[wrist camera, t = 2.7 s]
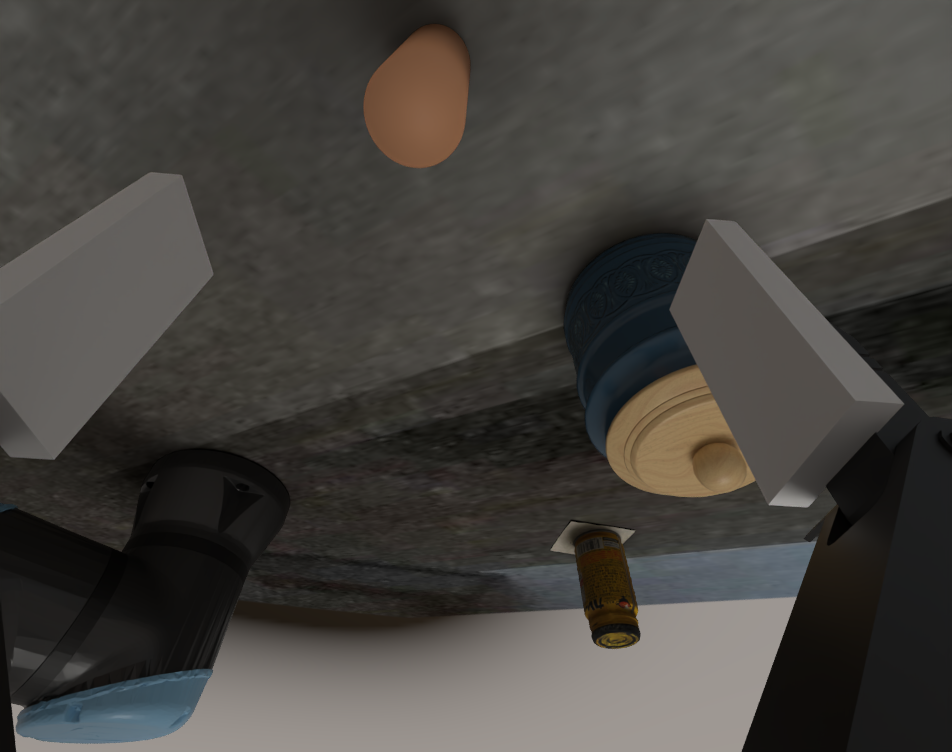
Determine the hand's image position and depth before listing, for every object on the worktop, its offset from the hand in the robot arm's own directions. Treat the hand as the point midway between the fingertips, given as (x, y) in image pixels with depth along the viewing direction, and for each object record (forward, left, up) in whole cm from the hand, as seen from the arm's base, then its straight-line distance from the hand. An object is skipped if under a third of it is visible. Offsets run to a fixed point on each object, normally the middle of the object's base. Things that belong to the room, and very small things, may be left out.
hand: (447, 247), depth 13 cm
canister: (+14, -15, -21) cm, 30 cm away
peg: (-2, +1, -21) cm, 21 cm away
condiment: (+16, -50, -22) cm, 57 cm away
